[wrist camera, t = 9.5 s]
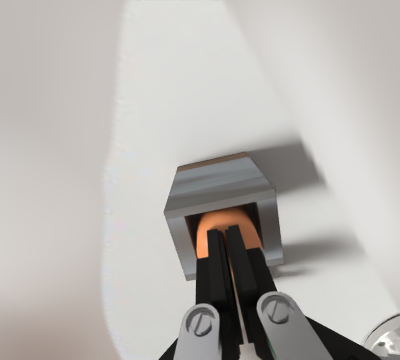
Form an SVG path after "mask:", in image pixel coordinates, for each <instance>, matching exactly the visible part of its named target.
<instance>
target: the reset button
mask: <svg viewBox="0 0 400 360" xmlns="http://www.w3.org/2000/svg"><path fill="white" fill-rule="evenodd" d="M237 224H238V225H239V228H240V232H241V235H242V238H243V241H244V245H245V248H246V249H251V248H257V247H260V249H262V247H261V241H260V239H259V237H258V234H257V232H256V230H255V227H254V225H253V222H252V220H251V218H250V215H249V213H248V211H247V210H246V208H245V207H244V206H242V205H237V206H232V207H227V208H222V209H218V210H213V211H208V212H203V213H200V214H199V217H198V221H197V256H198V258H203V257H208V244H207V230H212V229H217V230H218V231H222V235H223V239H224V243H225V248H226V252H227V256H228V261H229V265H230V269H231V274H232V275H233V271H232V266H231V261H230V255H229V250H228V245H227V239H226V234H225V230H226V229H229V228H228V226H232V225H237Z"/></svg>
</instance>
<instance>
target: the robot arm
mask: <svg viewBox="0 0 400 360" xmlns="http://www.w3.org/2000/svg"><path fill="white" fill-rule="evenodd" d="M228 228H229V229H226V230H225V234H226V239H227V245H228V250H229V255H230V261H231V266H232V271H233V276H234V282H235V287H236V292H237V296H238V301H239V305H240V309H241V314H242V318H243V323H244V327H245V331H246V336H247V340H248V344H250V343H254V347H255V351H256V356H258V357H259V358H260V359H262V360H400V316H397V317H395V318H393V319H391V320H389V321H387V322H386V323H384V324H383V325H381V326H380V327H378V328H377V329H376V330H375V331H374V332H373V333H372V334H371V335H370V336H369V337H368V339H367V340H366V342H365V344H364V347H363V346H361V345H359V344H357V343H355V342H353V341H351V340H350V339H348V338H346V337H344V336H342V335H340V334H338V333H336V332H335V331H333V330H331V329H329V328H327V327H325V326H323V325H322V324H320V323H318V322H316V321H314V320H312V319H310V318H309V317H307V316H305V315H304V314H303V313H302V311H301V310H300V308H299V307H298V305H297V304H296V302H295V301H294V300H293V299H292V298H291V297H290V296H288V295H287V294H284V293H282V292H278V291H277V289H276V286H275V284H274V281H273V279H272V276H271V274H270V271H269V269H268V266H267V264H266V261H265V259H264V256H263V254H262V251H261V249H260V247H257V248H251V249H246V248H245V245H244V241H243V238H242V235H241V232H240V228H239V225H238V224H237V225H232V226H228ZM207 244H208V257H203V258H198V259H197V260H196V305H195V306H193V307H192V308H190V309H189V310H188V311H187V312H186V314H185V315H184V317H183V320H182V323H181V328H180V333H179V337H178V338H177V339H176V340H175V341H174V343H173V344H172V345H171V346H170V347H169V348H168V349H167V351H166V352H165V353H164V354H163V355H162V356H161V357H160V358H159V360H239V359H240V355H241V352H240V346H239V345H243V344H244V340H243V334H242V329H241V323H240V318H239V312H238V307H237V301H236V296H235V290H234V285H233V279H232V274H231V269H230V265H229V261H228V256H227V252H226V248H225V243H224V239H223V235H222V231H218V230H217V229H212V230H207Z"/></svg>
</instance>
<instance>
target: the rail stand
mask: <svg viewBox="0 0 400 360" xmlns="http://www.w3.org/2000/svg"><path fill="white" fill-rule="evenodd" d="M237 205H242V206H244V207H245V208H246V210H247V211H248V213H249V215H250V218H251V220H252V222H253V225H254V227H255V230H256V232H257V234H258V237H259V239H260V241H261V247H262V249H261V251H262V254H263V256H264V259H265V261H266V264H267V266H274V265H280V264H284V260H283V252H282V243H281V234H280V226H279V217H278V209H277V200H276V191H275V188H274V187H273V186H272V184H271V183H270V182H269V181H268V180H267V178H266V177H265V176H264V175H263V173H262V172H261V171H260V170H259V168H258V167H257V166H256V165H255V164H254V162H253V161H252V160H251V159H250V157H249V156H248V155H247V154H246V153H245V152H242V153H238V154H233V155H229V156H225V157H220V158H216V159H211V160H207V161H202V162H198V163H193V164H189V165H184V166H180V167H178V168H177V171H176V174H175V178H174V181H173V184H172V187H171V190H170V193H169V197H168V200H167V203H166V206H165V209H164V215H165V218H166V221H167V224H168V227H169V230H170V233H171V236H172V239H173V242H174V245H175V248H176V251H177V254H178V257H179V260H180V263H181V266H182V269H183V272H184V275H185V278H186V281H190V280H196V260H197V259H198V256H197V221H198V217H199V214H200V213H203V212H208V211H213V210H218V209H222V208H227V207H232V206H237Z"/></svg>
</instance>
